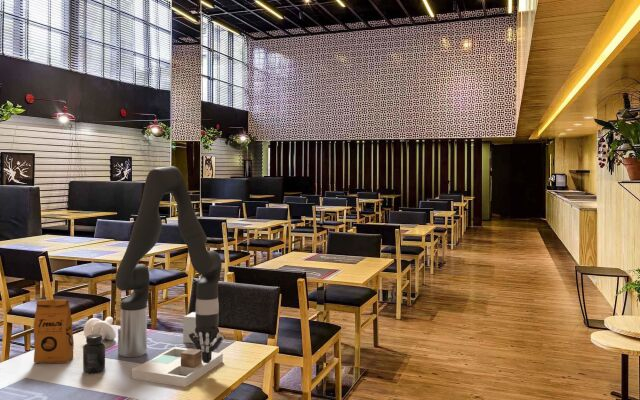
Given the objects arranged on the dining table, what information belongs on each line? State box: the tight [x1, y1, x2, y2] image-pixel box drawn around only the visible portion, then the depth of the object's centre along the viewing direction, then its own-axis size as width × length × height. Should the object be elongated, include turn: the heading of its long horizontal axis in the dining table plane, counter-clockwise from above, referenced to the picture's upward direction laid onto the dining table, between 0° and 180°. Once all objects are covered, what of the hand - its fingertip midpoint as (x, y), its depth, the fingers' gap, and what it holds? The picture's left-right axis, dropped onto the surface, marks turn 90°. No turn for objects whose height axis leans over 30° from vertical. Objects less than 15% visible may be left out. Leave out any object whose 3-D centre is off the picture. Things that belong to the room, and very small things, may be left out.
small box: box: [182, 311, 196, 344], centre depth 205 cm, size 8×6×10 cm
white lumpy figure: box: [83, 316, 117, 341], centre depth 202 cm, size 11×12×9 cm
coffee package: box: [33, 299, 75, 364], centre depth 179 cm, size 10×12×22 cm
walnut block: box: [181, 348, 202, 368], centre depth 169 cm, size 5×5×4 cm
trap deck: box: [131, 346, 223, 388], centre depth 173 cm, size 20×24×3 cm
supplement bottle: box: [82, 334, 106, 375], centre depth 170 cm, size 7×7×12 cm
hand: (206, 362), depth 169 cm, fingers closed
